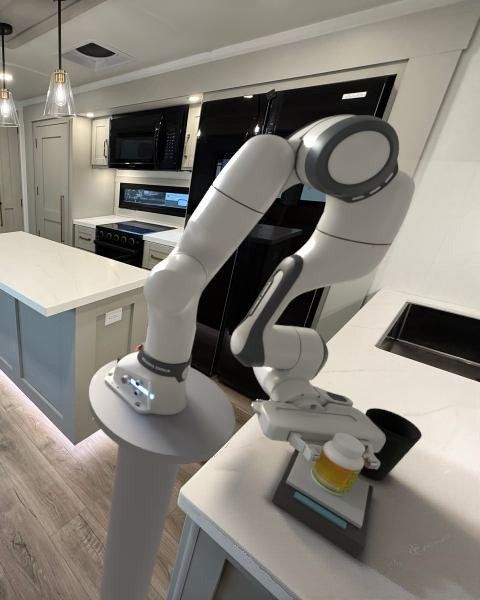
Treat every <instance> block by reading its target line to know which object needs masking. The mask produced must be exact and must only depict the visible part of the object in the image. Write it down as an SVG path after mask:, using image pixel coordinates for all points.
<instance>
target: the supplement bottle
mask: <svg viewBox="0 0 480 600" xmlns="http://www.w3.org/2000/svg"><path fill="white" fill-rule="evenodd" d="M364 452H365V447H364V445H363V444H362V443H361V442H360V441H359V440H358V439H356V438H355V437H353V436H351V435H348V434H345V433H337V434H336V435H335V436H334V438H333V441H328V442H326V443H325V444H324V446H322V449H321V450H320V453H319V454H320V458H319V459H318V462H315V464H314V466H313V468H312V471H311V474H312V477H313V479H314V481H315V482H316V483H317V484H318V485H319V486H320V487H321V488H323V489H324V490H326V491H327V492H329V493H332V494H334V495H339V496H343V495H346V494H347V493H348V492H349V490H350V488H351V487H352V485H353V483H354V481H355V480H356V478H358V476H359V475H360V474H361V473H360V471H361V469H362V468H363V466H364V460H363V458H362V455H363V454H364Z"/></svg>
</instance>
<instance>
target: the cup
mask: <svg viewBox="0 0 480 600" xmlns="http://www.w3.org/2000/svg"><path fill="white" fill-rule="evenodd" d="M364 414H365V415H366V416H367V417H368V418H369V419H370V420H371V421H372V422H373V423H374V424H375V425H376V426H377V427H378V428H379V429H380V430H381V431H382V432H383V433H384V434H385V436H386V441H385V443H384V445H383V447H382V448H381V450H380V451H379V452H377V453H375V452H374V456H375V457H376V458H377V459H378V460H379V461H380V466H379V468H378V469H370V468H366V467H365V465H364V466H363V468H362V469H361V471H360V473H359V474H361V475H363V476H364V477H366V478H369V479H370V480H371V479H372V480H375V481H383V480H384V479H385V478H386V477H388V475H389V474H390V473H391V472H392V470H393V469H395V467H396V466H397V465H398V464H399V463H400V462H401V461H402V459H403V458H404V457H405V456H406V455H407V454H408V453H409V452H410V451H411V449H412V448H414V447H415V445H416V444H417V443H418V442H419V441H420V440H421V438H422V436H423V435H422V432H421V430H420V429H419V427H417V425H415V424H414V423H413V422H412V421H410V420H409V419H407V418H405V417H404V416H402V415H400V414H398V413H396V412H393V411H391V410H387V409H384V408H378V407H373V408H372V407H371V408H368V409H367V410H366V411H365V413H364ZM362 457H363V455H362Z"/></svg>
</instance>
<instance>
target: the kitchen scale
mask: <svg viewBox="0 0 480 600" xmlns="http://www.w3.org/2000/svg"><path fill="white" fill-rule="evenodd" d="M314 464H315V462H314V461H307V459H306V458H305V456H304V455H303V453H301V452H299V451H298V450H297V449H295V448H294V451H293V452H292V455H291V457H290V459H289V461H288V463H287V466H286V468H285V470H284V472H283V474H282V476H281V478H280V481H279V483H278V485H277V487H276V489H275V491H274V494H273V496H272V498H271V501H270V502H271V503H273V504H275V506H278V507H279V508H280V509H282V510H284V511H285V512H287V513H288V514H290V515H291V516H292V517H294V518H296V519H297V520H299V521H300V522H302V524H304V525H306V526H307V527H309V528H310V529H312V530H313V531H314V532H317V533H318V534H319V535H321V536H322V537H324V538H325V539H327V540H328V541H329V542H331V543H333V544H334V545H335V546H337V547H339V548H340V549H342V550H343V551H345V553H348V554H349V555H351V556H352V557H353V558H355V559H358V557H359V556H360V555H361V553H362V552H363V550H364V549H365V548H366V540H367V534H368V529H369V528H368V527H369V520H370V514H371V507H372V501H373V495H374V486H372V485H371V484H370V483H369V482H367V481H365V480H363V479H361V478H359V477H357V478H356V480H355V481H354V483H353V485H352V487H351V488H350V490H349V492H348V493H347V494H346V495H343V496H339V495H334V494H332V493H329V492H327V491H326V490H324V489H323V488H321V487H320V486H319V485H318V484H317V483H316V482H315V481H314V479H313V477H312V474H311V471H312V468H313V466H314Z"/></svg>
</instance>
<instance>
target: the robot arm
mask: <svg viewBox="0 0 480 600" xmlns="http://www.w3.org/2000/svg"><path fill="white" fill-rule="evenodd" d="M399 140H400V139H399V136H398V133H397V131H396V130H395V128H394V126H392V125H391V124H390V123H389V122H388V121H386V120H384V119H383V118H380V117H377V116H373V115H367V114H365V115H364V114H360V115H356V114H348V113H347V114H346V113H345V114H337V115H336V114H335V115H332V116H328V117H322V118H319V119H315V120H313V121H311V122H309V123H307V124H305V125H304V126H302V127H300V128H299V129H297V130H295V131H294V132H292V133H291V134H289V135H287V136H285V137H284V138H283V137H281V136H279V135H274V134H269V133H268V134H267V133H266V134H265V133H264V134H258V135H255V136H252V137H250V138H249V139H248V140H247V141H246V142H245V143H243V145H242V146H241V147H240V148H239V149H238V150H237V151H236V153H235V154H234V155H233V156H232V157H231V158H230V160H229V161H228V162H227V163H226V164H225V165H224V167H223V168H222V169H221V171H220V172H219V174H218V175H217V176H216V177H215V179H214V180H213V183H212V184H211V185H210V186H209V188H208V190H207V191H206V193H205V194H204V196H203V198H201V201H200V202H199V203H198V205H197V207H196V208H195V209H194V212H193V213H192V215H191V216H190V218H189V219H188V221H187V223H186V226H185V228H184V229H183V232H182V234H181V235H180V238H179V239H178V241H177V243H176V245H174V247H173V249H172V251H171V252H170V253H169V254H168V255H167V256H166V257H165V258H164V259H163V260H161V261H160V262H159V263H157V264H156V265H155V266H153V267H152V269H150V271H149V273H148V275H147V277H146V279H145V281H144V284H143V296H144V300H145V301H146V302H147V314H148V315H147V316H148V317H147V328H146V329H147V330H146V336H145V341H142V342H140V343H139V345H138V346H137V345H136V347H135V348H134V349H135V350H134V352H129V353H126V354H123V355H120V356H118V357H117V358H116V360H117V365H116V367H114V368H113V369H112V370H110V371H109V372H108V373H107V375H106V377H105V383H106V384H107V385H108V386H109V387H110V388H111V389H112V390H114V391H115V392H116V393H117V394H118V395H119V396H120V397H121V398H122V399H123V400H124V401H125V402H127V403H128V404H129V405H130V406H131V407H132V408H133V409H134V410H135V411H136V412H137V413H139V414H150V413H152V414H159V415H174V414H177V413H180V412H181V411H183V410H184V409H185V407H186V405H187V399H186V378H187V376H188V374H189V370H190V367H191V363H192V358H193V356H192V350H193V346H194V341H195V335H196V333H197V332H196V331H197V314H198V306H199V302H200V298H201V296H202V293H203V291H204V290H205V289H206V287H207V286H208V284H209V283H210V282H211V281H212V280H213V278H214V277H215V276H216V275H217V273H218V272H219V271H220V269H221V268H222V267H223V266H224V264H225V263H226V262H227V261H228V260H229V258H230V257H231V256H232V255H233V254H234V252H236V250H237V249H238V247H240V245H241V244H242V243H243V241H245V238H246V237H247V236H248V235H249V234H250V233H251V231H252V230H253V229H254V228H255V226H257V224H258V223H259V221H260V220H261V219H262V218H263V216H264V215H265V213H266V212H268V210H269V209H270V207H271V206H272V205H273V203H274V202H275V200H276V199H277V197H280V195H282V194H283V193H284V192H285V191H286V190H288V189H289V188H291V187H293V186H295V185H298V184H302V185H304V186H306V187H308V188H311V189H313V190H317V191H318V192H320V193H322V194H324V195H325V206H324V209H323V213H322V215H321V217H320V218H319V221H318V223H317V224H316V227H315V230H313V231H314V232H313V233H312V235H311V236H310V238H309V239H308V240H307V241H306V243H305V244H304V245H303V246H302V247H300V249H299V250H297V251H296V252H295V253H294V254H292V255H289V256H287V257H284V259H283V260H282V261H280V263H279V264H278V265H277V267H276V268H275V270H274V271H273V273H272V274H271V276H270V277H269V279H268V280H267V282H266V283H265V285H264V287H263V288H262V290H261V291H260V292H259V295H257V296H258V297H257V298H256V299H255V301H254V303H253V304H252V306H251V308H250V309H249V311H248V312H247V314H246V316H245V317H243V319H242V320H241V321H240V323H239V324H237V326H236V327H235V328H234V330H233V332H232V334H231V335H230V336H231V338H230V342H229V347H230V352H231V353H232V355H233V356H234V358H235V359H237V361H238V362H239V363H241V364H242V365H243V366H244V367H246V368H252V369H253V373H254V375H255V378H256V380H257V382H258V384H259V385H260V387H261V388H262V390H263V391H264V393H265V394H266V395H267V396H269V400H265V399H259V398H258V399H257V398H256V400H253V401H252V402H251V405H250V406H251V408H252V411H254V413H255V414H256V416H257V420H258V423H259V426H260V429H261V431H262V434H263V435H264V436H265V437H266V438H267V439H269V440H270V441H277V442H284V443H289V445H290V446H291V447H292V448H294V450H295V449H297V450H298V451H299V452H301V453H303V455H304V456H305V458H306V459H307V461H314V462H318V459H319V458H320V453H319V451H318V450H317V448H316V447H315V446H318V447H319V446H320V447H323V446H324V444H325V443H326V442H328V441H333V438H334V436H335V435H336V434H337V433H345V434H348V435H351V436H353V437H355V438H356V439H358V440H359V441H360V442H361V443H362V444H363V445H364V447H365V452H364V454H363V457H362V458H363V460H364V465H365V467H366V468H370V469H378V468H379V466H380V461H379V460H378V459H377V458H376V457H375V456H374V452H375V453H377V452H379V451H380V450H381V448H382V447H383V445H384V443H385V441H386V436H385V434H384V433H383V432H382V431H381V430H380V429H379V428H378V427H377V426H376V425H375V424H374V423H373V422H372V421H371V420H370V419H369V418H368V417H367V416H366V415H365V413H364V412H363V411H361V410H360V409H358V408H356V407H354V401H352V400H351V399H350V398H349V397H348V396H345V395H341V394H339V393H338V394H337V393H334V392H331V391H328V390H325V389H322V387H321V388H320V387H319V386H316V385H313V384H312V383H311V381H313V380H314V379H315V378H316V377H317V376H318V375H319V373H320V372H321V371H322V369H323V368H324V367H325V366H326V364H327V362H328V358H329V349H328V345H327V343H326V340H325V338H323V336H322V335H321V333H319V332H318V331H317V330H316V329H314V328H310V327H309V328H308V327H301V326H295V325H282V324H281V325H280V324H276V323H277V321H278V319H279V318H280V317H281V315H282V314H283V312H284V311H285V310H286V308H287V307H288V305H289V304H290V302H292V301H293V300H294V299H295V298H296V297H298V296H300V295H302V294H304V293H306V292H307V293H308V292H311V291H313V290H317V289H320V288H325V287H330V286H335V285H342V284H346V283H348V284H349V283H351V282H353V281H357V280H359V279H361V278H364V277H366V276H367V275H369V274H371V273H372V272H374V270H375V269H376V268H377V267H378V266H379V265H380V263H382V261H383V260H384V258H385V257H386V255H387V254H388V251H389V250H390V248H391V246H392V245H393V243H394V241H395V239H396V237H397V235H398V234H399V232H400V230H401V228H402V226H403V224H404V222H405V219H406V216H407V214H408V211H409V209H410V206H411V203H412V200H413V196H414V193H415V191H416V190H415V189H416V184H415V181H414V179H413V178H412V177H411V175H409V174H408V173H406V172H405V171H403V170H400V169H399V162H398V159H399V154H400V141H399Z"/></svg>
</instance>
